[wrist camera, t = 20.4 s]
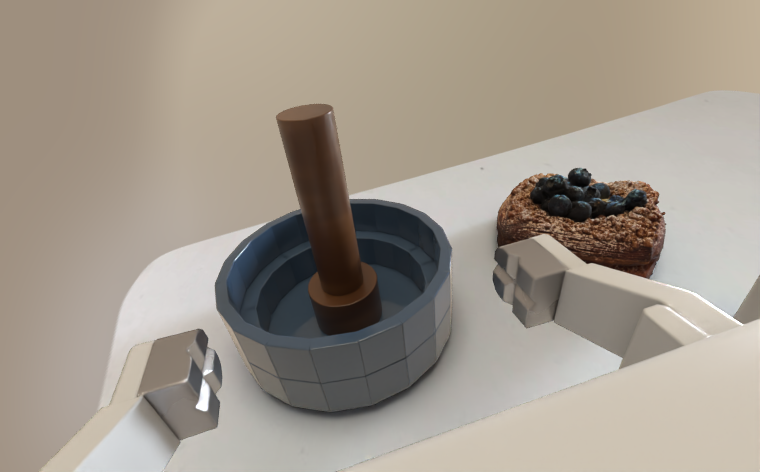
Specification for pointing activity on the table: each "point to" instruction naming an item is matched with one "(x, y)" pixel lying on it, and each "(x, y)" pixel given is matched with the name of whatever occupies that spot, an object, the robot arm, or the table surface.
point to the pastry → (588, 219)
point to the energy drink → (750, 305)
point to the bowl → (348, 350)
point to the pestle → (328, 222)
